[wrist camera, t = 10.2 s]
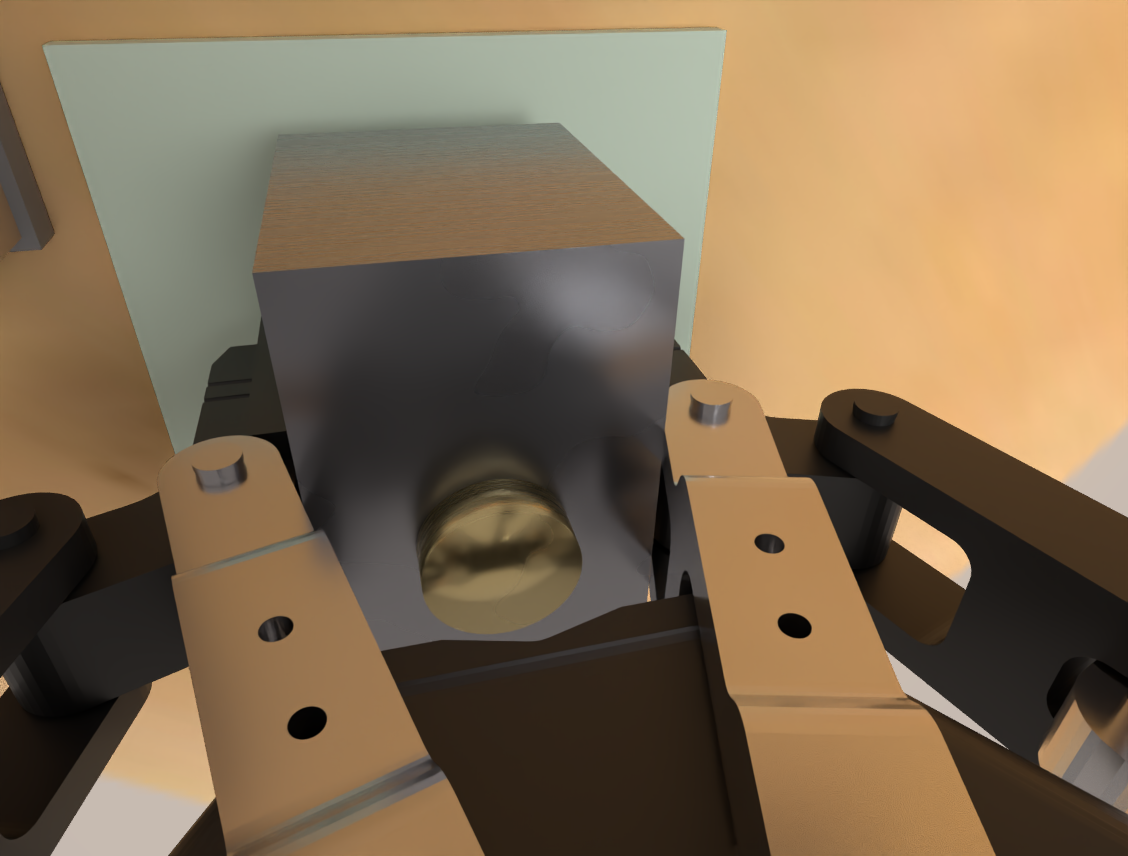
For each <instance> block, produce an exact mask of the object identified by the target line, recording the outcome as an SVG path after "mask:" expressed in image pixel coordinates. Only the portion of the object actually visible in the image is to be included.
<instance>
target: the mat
mask: <svg viewBox="0 0 1128 856" xmlns="http://www.w3.org/2000/svg"><path fill="white" fill-rule="evenodd" d="M726 32H727V30H724V29H721V28H717V27H705V28H657V29H609V30H561V31H513V32H465V33H417V34H369V35H321V36H273V37H226V38H178V39H130V40H82V41H50V42H48V43H46V44H44V45H42V47H43V50H44V53H45V57H46V60H47V63H48V66H49V69H50V72H51V75H52V78H53V81H54V84H55V87H56V90H57V93H58V96H59V99H60V103H61V106H62V109H63V112H64V115H65V118H66V121H67V124H68V127H69V130H70V133H71V136H72V139H73V142H74V145H75V148H76V152H77V155H78V158H79V161H80V164H81V167H82V170H83V173H84V176H85V179H86V182H87V185H88V188H89V191H90V194H91V198H92V201H93V204H94V207H95V210H96V213H97V216H98V219H99V222H100V225H101V228H102V231H103V234H104V237H105V240H106V244H107V247H108V250H109V253H110V256H111V259H112V262H113V265H114V268H115V271H116V274H117V277H118V280H119V283H120V286H121V290H122V293H123V296H124V299H125V302H126V305H127V308H128V311H129V314H130V317H131V320H132V323H133V326H134V329H135V332H136V336H137V339H138V342H139V345H140V348H141V351H142V354H143V357H144V360H145V363H146V366H147V369H148V372H149V375H150V378H151V382H152V385H153V388H154V391H155V394H156V397H157V400H158V403H159V406H160V409H161V412H162V415H163V418H164V421H165V424H166V427H167V431H168V434H169V437H170V440H171V443H172V446H173V449H174V452H175V455H176V454H177V453H179V452H180V451H182V450H184V449H186V448H188V447H190V446H192V445H193V441H194V437H195V433H196V429H197V425H198V421H199V416H200V412H201V408H202V404H203V402H204V395H205V391H206V387H208V384H207V383H208V379H209V374H210V370H211V366H212V364H213V363H214V362H215V361H216V360H217V359H218V358H219V357H220V356H221V355H222V354H223V353H224V352H225V351H226V350H227V349H229V348H230V347H233V346H243V345H253V344H257V341H258V335H259V328H260V321H261V312H260V307H259V303H258V298H257V293H256V289H255V284H254V280H253V275H252V270H253V265H254V260H255V254H256V249H257V244H258V239H259V233H260V228H261V223H262V217H263V212H264V207H265V201H266V196H267V191H268V186H269V180H270V175H271V170H272V164H273V159H274V154H275V148H276V143H277V138H278V135H282V134H306V133H329V132H352V131H375V130H399V129H422V128H445V127H468V126H492V125H515V124H538V123H560V124H562V125H563V126H564V127H565V128H566V129H567V130H568V131H569V132H570V133H571V134H572V135H573V136H574V137H576V138H577V139H578V140H579V141H580V142H581V143H582V144H583V145H584V146H585V147H586V148H587V149H588V150H590V151H591V152H592V153H593V154H594V155H595V156H596V157H597V158H598V159H599V160H600V161H601V162H603V163H604V164H605V165H606V166H607V167H608V168H609V169H610V170H611V171H612V172H613V173H614V174H615V175H617V176H618V177H619V178H620V179H621V180H622V181H623V182H624V183H625V184H626V185H627V186H628V187H629V188H631V189H632V190H633V191H634V192H635V193H636V194H637V195H638V196H639V197H640V198H641V199H642V200H644V201H645V202H646V203H647V204H648V205H649V206H650V207H651V208H652V209H653V210H654V211H655V212H656V213H658V214H659V215H660V216H661V217H662V218H663V219H664V220H665V221H666V222H667V223H668V224H669V225H670V226H672V227H673V228H674V229H675V230H676V231H677V232H678V233H679V234H680V235H681V236H682V237H683V238H685V242H684V251H683V261H682V270H681V280H680V290H679V299H678V309H677V318H676V328H675V337H674V339H675V340H676V341H677V343H678V344H679V345H680V346H681V350H684V351H685V352H686V354H687V355H688V356H689V355H690V347H691V338H692V329H693V320H694V312H695V303H696V294H697V285H698V277H699V268H700V259H701V250H702V242H703V233H704V224H705V215H706V207H707V198H708V189H709V181H710V172H711V163H712V154H713V146H714V137H715V128H716V119H717V111H718V102H719V93H720V84H721V76H722V67H723V58H724V49H725V41H726Z"/></svg>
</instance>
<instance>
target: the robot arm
mask: <svg viewBox="0 0 1128 856" xmlns="http://www.w3.org/2000/svg"><path fill="white" fill-rule="evenodd" d="M207 384H208V387H206V391H205V395H204V402H203V404H202V408H201V412H200V416H199V421H198V425H197V429H196V433H195V437H194V441H193V445H192V446H190V447H188V448H186V449H184V450H182V451H180V452H179V453H177V454H176V455H174V456H173V457H172V458H170V459H169V460H168V461H167V462H166V463H165V464H164V466H163V467H162V468H161V470H160V472H159V474H158V478H157V485H158V490H159V492H157V493H155V494H154V495H152V496H150V497H148V498H145V499H143V500H141V501H139V502H136V503H133V504H130V505H128V506H125V507H122V508H118V509H115V510H112V511H109V512H106V513H103V514H100V515H97V516H94V517H90V518H87V519H86V518H85V516H84V513H83V511H82V509H81V507H80V505H79V503H77V502H76V501H75V500H74V499H72V498H70V497H68V496H65V495H62V494H57V493H29V494H23V495H18V496H13V497H9V498H6V499H2V500H0V678H1V676H2V675H3V677H4V678H5V680H6V682H7V683H8V685H9V687H8V689H7V690H6V691H5V692H4V694H3V695H2V696H1V697H0V856H50V855H51V854H52V852H53V850H54V849H55V847H56V845H57V844H58V842H59V841H60V839H61V837H62V836H63V834H64V832H65V831H66V829H67V828H68V826H69V824H70V823H71V821H72V820H73V818H74V816H75V815H76V813H77V811H78V810H79V808H80V807H81V805H82V803H83V802H84V800H85V799H86V797H87V795H88V794H89V792H90V790H91V789H92V787H93V786H94V784H95V782H96V781H97V779H98V778H99V776H100V774H101V773H102V771H103V769H104V768H105V766H106V765H107V763H108V761H109V760H110V758H111V756H112V755H113V753H114V752H115V750H116V748H117V747H118V745H119V744H120V742H121V740H122V739H123V737H124V735H125V734H126V732H127V731H128V729H129V727H130V726H131V724H132V722H133V721H134V719H135V718H136V716H137V714H138V713H139V711H140V710H141V708H142V706H143V705H144V703H145V701H146V699H147V697H148V695H149V693H150V690H151V686H152V682H153V681H156V680H158V679H160V678H163V677H165V676H167V675H170V674H172V673H175V672H177V671H179V670H182V669H184V668H186V667H189V669H190V674H191V678H192V683H193V688H194V693H195V698H196V703H197V708H198V712H199V717H200V722H201V727H202V732H203V737H204V742H205V747H206V751H207V756H208V761H209V766H210V771H211V776H212V781H213V785H214V790H215V795H216V797H215V799H214V800H213V801H212V802H211V804H210V805H209V806H208V807H207V808H206V810H205V811H204V812H203V813H202V815H201V816H200V817H199V818H198V820H197V821H196V822H195V823H194V824H193V826H192V827H191V828H190V829H189V831H188V832H187V833H186V834H185V836H184V837H183V838H182V839H181V840H180V842H179V843H178V844H177V845H176V847H175V848H174V849H173V850H172V852H171V853H170V854H169V855H168V856H1128V517H1126V516H1124V515H1122V514H1120V513H1118V512H1116V511H1114V510H1112V509H1111V508H1109V507H1107V506H1105V505H1103V504H1101V503H1099V502H1097V501H1095V500H1093V499H1091V498H1090V497H1088V496H1086V495H1084V494H1082V493H1080V492H1078V491H1076V490H1074V489H1073V488H1071V487H1069V486H1067V485H1065V484H1063V483H1061V482H1059V481H1057V480H1055V479H1054V478H1052V477H1050V476H1048V475H1046V474H1044V473H1042V472H1040V471H1038V470H1036V469H1035V468H1033V467H1031V466H1029V465H1027V464H1025V463H1023V462H1021V461H1019V460H1017V459H1016V458H1014V457H1012V456H1010V455H1008V454H1006V453H1004V452H1002V451H1000V450H998V449H997V448H995V447H993V446H991V445H989V444H987V443H985V442H983V441H981V440H979V439H978V438H976V437H974V436H972V435H970V434H968V433H966V432H964V431H962V430H960V429H959V428H957V427H955V426H953V425H951V424H949V423H947V422H945V421H943V420H941V419H940V418H938V417H936V416H934V415H932V414H930V413H928V412H926V411H924V410H922V409H921V408H919V407H917V406H915V405H913V404H911V403H909V402H907V401H905V400H903V399H901V398H899V397H896V396H893V395H891V394H887V393H884V392H879V391H874V390H867V389H847V390H841V391H837V392H834V393H832V394H830V395H828V396H827V397H826V398H825V399H824V400H823V402H822V405H821V409H820V413H819V417H818V420H803V419H787V418H775V417H768V416H765V415H764V413H763V410H762V407H761V405H760V403H759V401H758V400H757V399H756V398H755V397H754V396H753V395H752V394H751V393H749V392H748V391H746V390H744V389H743V388H740V387H738V386H736V385H733V384H730V383H726V382H722V381H716V380H707V378H706V377H705V376H704V375H703V374H702V372H701V371H700V370H699V369H698V367H697V366H696V365H695V364H694V362H693V361H692V360H691V359H690V357H689V356H688V355H687V354H686V352H685V351H684V350H681V346H680V345H679V344H678V343H677V341H676V340H675V339H674V347H673V356H672V366H671V376H670V385H669V395H668V404H667V414H666V423H665V433H664V442H663V452H662V462H661V471H660V481H659V490H658V500H657V509H656V519H655V528H654V538H653V548H652V557H651V567H650V576H649V588H650V597H651V601H650V602H644V603H639V604H633V605H628V606H622V607H620V608H617V609H615V610H612V611H610V612H608V613H605V614H603V615H601V616H598V617H596V618H594V619H591V620H589V621H587V622H584V623H582V624H579V625H577V626H575V627H572V628H570V629H568V630H565V631H563V632H561V633H558V634H556V635H553V636H551V637H549V638H546V639H543V640H538V641H484V640H438V641H432V642H427V643H421V644H416V645H410V646H405V647H399V648H394V649H389V650H383V651H380V649H379V647H378V645H377V643H376V641H375V638H374V636H373V634H372V632H371V630H370V628H369V625H368V623H367V621H366V619H365V617H364V615H363V613H362V610H361V608H360V606H359V604H358V602H357V600H356V597H355V595H354V593H353V591H352V589H351V587H350V584H349V582H348V580H347V578H346V576H345V574H344V572H343V569H342V567H341V565H340V563H339V561H338V559H337V556H336V554H335V552H334V550H333V548H332V546H331V544H330V541H329V539H328V537H327V535H326V534H325V532H324V530H323V529H318V530H314V529H313V527H312V525H311V523H310V520H309V518H308V516H307V514H306V512H305V509H304V507H303V503H302V499H301V494H300V490H299V485H298V480H297V476H296V471H295V467H294V462H293V458H292V453H291V449H290V444H289V439H288V435H287V430H286V426H285V421H284V417H283V412H282V407H281V403H280V398H279V394H278V389H277V385H276V380H275V376H274V371H273V366H272V362H271V357H270V353H269V348H268V344H267V339H266V335H265V330H264V325H263V321H262V316H261V321H260V328H259V335H258V341H257V344H253V345H243V346H233V347H230V348H229V349H227V350H226V351H225V352H224V353H223V354H222V355H221V356H220V357H219V358H218V359H217V360H216V361H215V362H214V363H213V364H212V366H211V370H210V374H209V379H208V383H207ZM902 508H904V509H906V510H907V511H909V512H910V513H912V514H913V515H915V516H917V517H918V518H920V519H921V520H923V521H924V522H926V523H928V524H929V525H931V526H932V527H934V528H935V529H937V530H938V531H940V532H942V533H943V534H945V535H946V536H948V537H949V538H951V539H952V540H954V541H955V542H956V543H957V544H958V545H960V547H961V548H962V549H963V550H964V552H965V553H966V555H967V557H968V559H969V561H970V565H971V578H970V581H969V583H968V586H967V588H966V590H965V589H964V588H962V587H961V586H959V585H958V584H956V583H955V582H953V581H952V580H951V579H949V578H948V577H946V576H945V575H943V574H942V573H940V572H939V571H937V570H936V569H934V568H933V567H931V566H930V565H929V564H927V563H926V562H924V561H923V560H921V559H920V558H918V557H917V556H915V555H914V554H912V553H911V552H909V551H908V550H906V549H905V548H904V547H902V546H901V545H899V544H898V543H896V542H895V541H893V540H892V537H893V534H894V531H895V528H896V525H897V522H898V519H899V516H900V513H901V510H902ZM885 650H886V651H887V652H889V653H890V654H891V655H892V656H894V657H895V658H896V659H897V660H898V661H900V662H901V663H902V664H903V665H905V666H906V667H907V668H908V669H910V670H911V671H912V672H913V673H915V674H916V675H917V676H918V677H920V678H921V679H922V680H923V681H925V682H926V683H927V684H928V685H929V686H931V687H932V688H933V689H935V690H936V691H937V692H938V693H939V694H941V695H942V696H943V697H944V698H946V699H947V700H948V701H949V702H951V703H952V704H953V705H954V706H956V707H957V708H958V709H959V710H961V711H962V712H963V713H964V714H966V715H967V716H968V717H969V718H971V719H972V720H973V721H974V722H976V723H977V724H978V725H979V726H981V727H982V728H983V729H984V730H985V731H987V732H988V733H989V734H990V735H992V736H993V737H994V738H995V739H997V740H998V741H999V742H1000V743H1002V744H1003V745H1004V746H1005V747H1007V748H1008V749H1007V748H1005V747H1003V746H1001V745H999V744H997V743H996V742H994V741H992V740H990V739H988V738H987V737H985V736H983V735H981V734H979V733H977V732H975V731H974V730H972V729H970V728H968V727H966V726H964V725H963V724H961V723H959V722H957V721H955V720H953V719H951V718H950V717H948V716H946V715H944V714H942V713H940V712H939V711H937V710H935V709H933V708H931V707H929V706H928V705H926V704H924V703H922V702H920V701H918V700H917V699H914V698H913V697H911V696H909V695H907V694H905V693H904V692H903V690H902V689H901V686H900V684H899V682H898V680H897V678H896V675H895V673H894V670H893V668H892V665H891V663H890V661H889V658H888V656H887V654H886V651H885Z"/></svg>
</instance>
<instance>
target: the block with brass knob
mask: <svg viewBox="0 0 1128 856" xmlns="http://www.w3.org/2000/svg"><path fill="white" fill-rule="evenodd" d="M684 242H685V238H683V237H682V236H681V235H680V234H679V233H678V232H677V231H676V230H675V229H674V228H673V227H672V226H670V225H669V224H668V223H667V222H666V221H665V220H664V219H663V218H662V217H661V216H660V215H659V214H658V213H656V212H655V211H654V210H653V209H652V208H651V207H650V206H649V205H648V204H647V203H646V202H645V201H644V200H642V199H641V198H640V197H639V196H638V195H637V194H636V193H635V192H634V191H633V190H632V189H631V188H629V187H628V186H627V185H626V184H625V183H624V182H623V181H622V180H621V179H620V178H619V177H618V176H617V175H615V174H614V173H613V172H612V171H611V170H610V169H609V168H608V167H607V166H606V165H605V164H604V163H603V162H601V161H600V160H599V159H598V158H597V157H596V156H595V155H594V154H593V153H592V152H591V151H590V150H588V149H587V148H586V147H585V146H584V145H583V144H582V143H581V142H580V141H579V140H578V139H577V138H576V137H574V136H573V135H572V134H571V133H570V132H569V131H568V130H567V129H566V128H565V127H564V126H563V125H562V124H560V123H538V124H515V125H492V126H468V127H445V128H422V129H399V130H375V131H352V132H329V133H306V134H282V135H278V138H277V143H276V148H275V154H274V159H273V164H272V170H271V175H270V180H269V186H268V191H267V196H266V201H265V207H264V212H263V217H262V223H261V228H260V233H259V239H258V244H257V249H256V254H255V260H254V265H253V270H252V275H253V280H254V284H255V289H256V293H257V298H258V303H259V307H260V312H261V316H262V321H263V325H264V330H265V335H266V339H267V344H268V348H269V353H270V357H271V362H272V366H273V371H274V376H275V380H276V385H277V389H278V394H279V398H280V403H281V407H282V412H283V417H284V421H285V426H286V430H287V435H288V439H289V444H290V449H291V453H292V458H293V462H294V467H295V471H296V476H297V480H298V485H299V490H300V494H301V499H302V503H303V507H304V509H305V512H306V514H307V516H308V518H309V520H310V523H311V525H312V527H313V529H314V530H318V529H323V530H324V532H325V534H326V535H327V537H328V539H329V541H330V544H331V546H332V548H333V550H334V552H335V554H336V556H337V559H338V561H339V563H340V565H341V567H342V569H343V572H344V574H345V576H346V578H347V580H348V582H349V584H350V587H351V589H352V591H353V593H354V595H355V597H356V600H357V602H358V604H359V606H360V608H361V610H362V613H363V615H364V617H365V619H366V621H367V623H368V625H369V628H370V630H371V632H372V634H373V636H374V638H375V641H376V643H377V645H378V647H379V649H380V651H383V650H389V649H394V648H399V647H405V646H410V645H416V644H421V643H427V642H432V641H438V640H484V641H538V640H543V639H546V638H549V637H551V636H553V635H556V634H558V633H561V632H563V631H565V630H568V629H570V628H572V627H575V626H577V625H579V624H582V623H584V622H587V621H589V620H591V619H594V618H596V617H598V616H601V615H603V614H605V613H608V612H610V611H612V610H615V609H617V608H620V607H622V606H628V605H633V604H639V603H644V602H647V595H648V586H649V576H650V567H651V557H652V548H653V538H654V528H655V519H656V509H657V500H658V490H659V481H660V471H661V462H662V452H663V442H664V433H665V423H666V414H667V404H668V395H669V385H670V376H671V366H672V356H673V347H674V337H675V328H676V318H677V309H678V299H679V290H680V280H681V270H682V261H683V251H684Z"/></svg>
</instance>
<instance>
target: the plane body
mask: <svg viewBox="0 0 1128 856" xmlns="http://www.w3.org/2000/svg"><path fill="white" fill-rule="evenodd" d="M54 234H55V233H54V231H53V228H52V225H51V222H50V219H49V217H48V214H47V211H46V208H45V206H44V203H43V200H42V197H41V195H40V192H39V189H38V186H37V184H36V181H35V178H34V175H33V173H32V170H31V167H30V164H29V161H28V159H27V156H26V153H25V150H24V148H23V145H22V142H21V139H20V137H19V134H18V131H17V128H16V126H15V123H14V120H13V117H12V114H11V112H10V109H9V106H8V103H7V101H6V98H5V95H4V92H3V90H2V87H1V84H0V261H1V260H2V259H3V258H4V257H5V256H6V255H7V253H8V252H16V251H30V250H42V249H43V247H44V246H45V245H46V244H47V242H48V241H49V240H50V239H51V238H52V236H53V235H54Z"/></svg>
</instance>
